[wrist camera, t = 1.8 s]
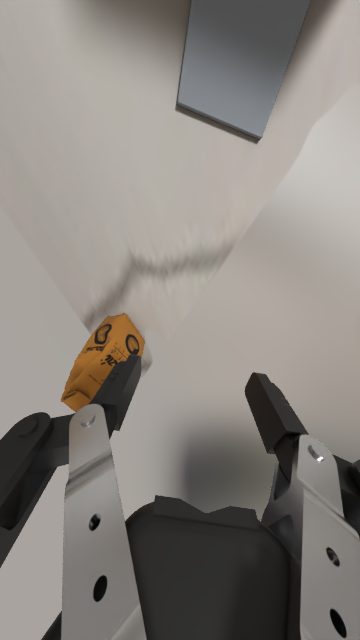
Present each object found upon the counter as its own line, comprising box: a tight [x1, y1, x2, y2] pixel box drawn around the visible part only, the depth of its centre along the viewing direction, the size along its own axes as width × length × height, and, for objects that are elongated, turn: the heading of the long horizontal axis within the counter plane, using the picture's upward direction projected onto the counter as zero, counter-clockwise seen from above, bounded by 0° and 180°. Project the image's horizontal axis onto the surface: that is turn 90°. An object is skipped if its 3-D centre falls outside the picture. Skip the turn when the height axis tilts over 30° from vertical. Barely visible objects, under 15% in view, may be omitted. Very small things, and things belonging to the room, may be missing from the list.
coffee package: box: [61, 313, 145, 412], centre depth 31 cm, size 10×12×22 cm
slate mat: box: [177, 0, 311, 139], centre depth 17 cm, size 13×13×1 cm
